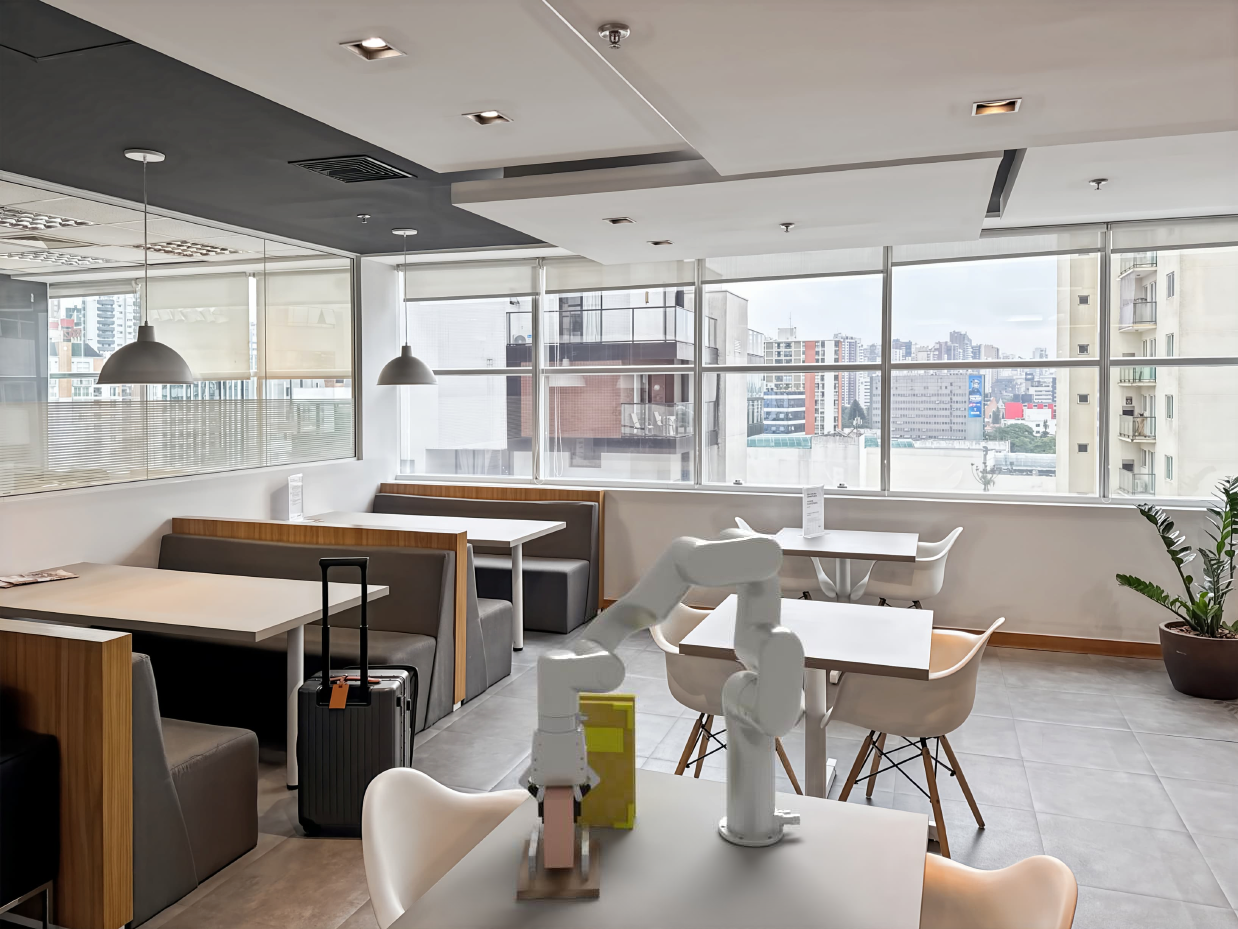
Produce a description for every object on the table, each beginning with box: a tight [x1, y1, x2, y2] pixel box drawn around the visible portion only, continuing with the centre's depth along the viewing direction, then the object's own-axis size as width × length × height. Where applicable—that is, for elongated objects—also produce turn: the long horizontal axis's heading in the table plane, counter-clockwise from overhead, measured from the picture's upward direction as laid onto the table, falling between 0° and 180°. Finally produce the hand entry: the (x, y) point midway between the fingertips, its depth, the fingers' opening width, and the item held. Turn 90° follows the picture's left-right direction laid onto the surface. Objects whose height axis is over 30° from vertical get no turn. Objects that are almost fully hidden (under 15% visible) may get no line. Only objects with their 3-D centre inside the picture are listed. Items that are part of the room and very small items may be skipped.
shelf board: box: [516, 837, 600, 900], centre depth 155 cm, size 14×18×2 cm
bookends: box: [528, 822, 590, 881], centre depth 155 cm, size 10×12×4 cm
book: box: [575, 693, 637, 829], centre depth 174 cm, size 17×7×25 cm, turn 84°
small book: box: [543, 786, 576, 868], centre depth 154 cm, size 5×11×12 cm, turn 2°
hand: (559, 819), depth 154 cm, fingers closed on small book, 5 cm apart
